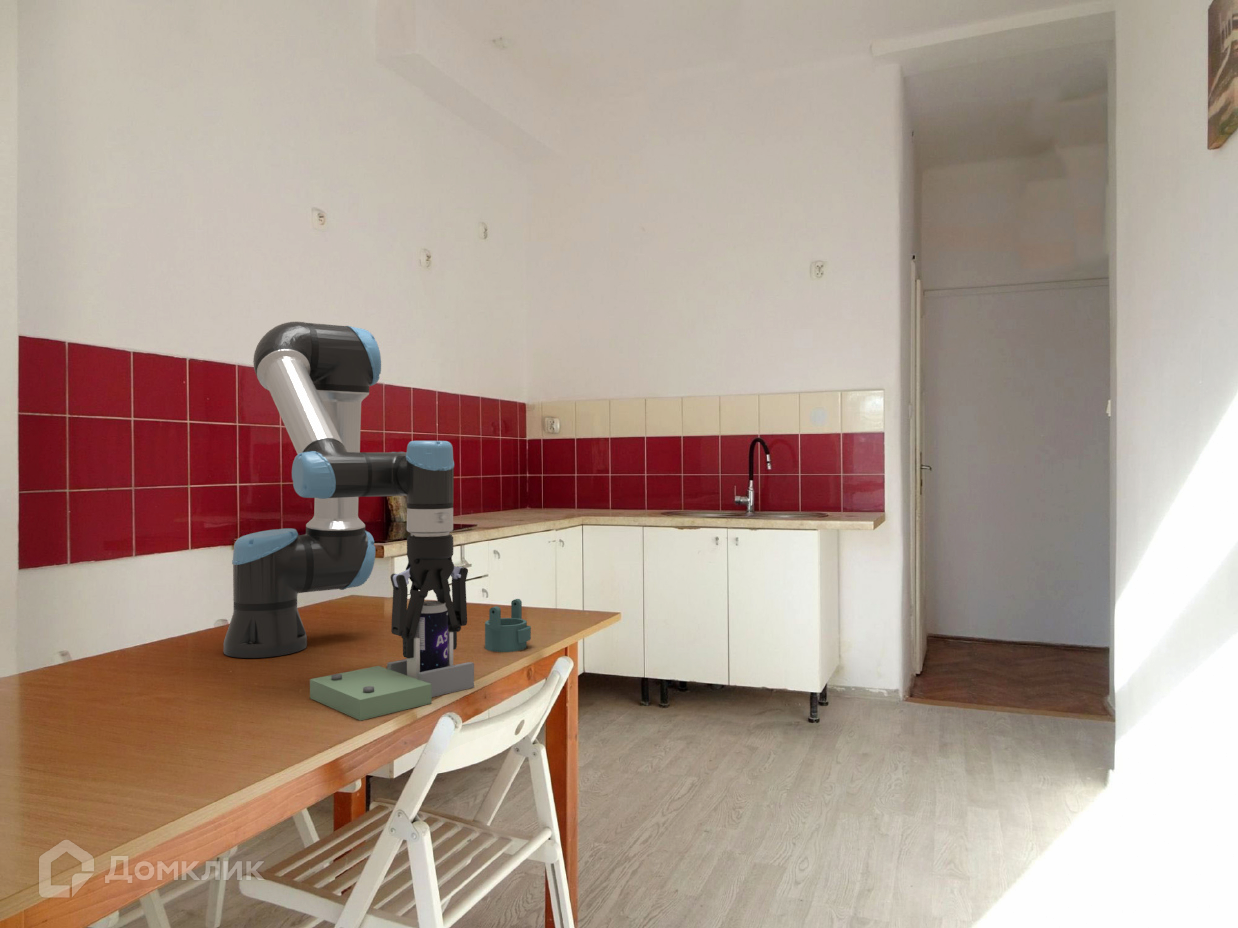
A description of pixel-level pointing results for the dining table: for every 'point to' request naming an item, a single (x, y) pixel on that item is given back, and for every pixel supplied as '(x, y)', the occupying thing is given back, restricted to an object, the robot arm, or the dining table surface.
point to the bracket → (507, 630)
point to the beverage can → (433, 636)
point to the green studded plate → (388, 688)
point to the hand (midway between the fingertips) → (430, 672)
